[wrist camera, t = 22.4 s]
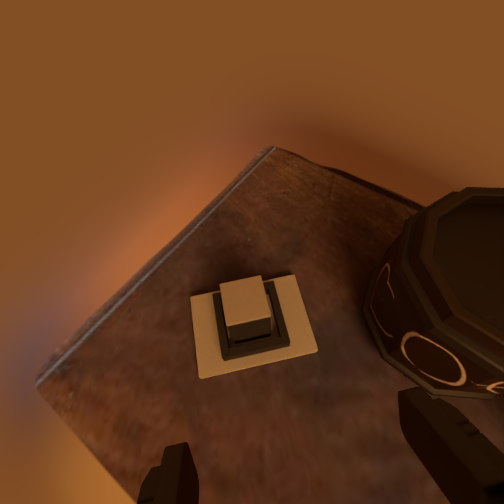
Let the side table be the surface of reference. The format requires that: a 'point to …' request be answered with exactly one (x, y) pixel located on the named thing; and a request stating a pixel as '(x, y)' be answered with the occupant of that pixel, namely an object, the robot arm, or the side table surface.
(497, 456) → the robot arm
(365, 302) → the barrel
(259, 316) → the tan rectangular block
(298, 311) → the base pad
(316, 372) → the side table surface
